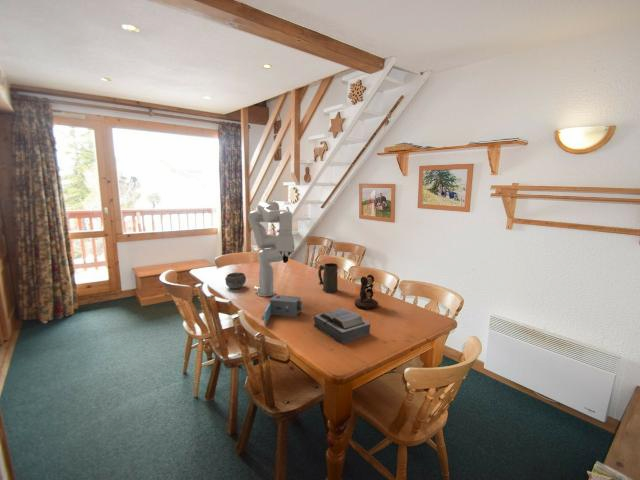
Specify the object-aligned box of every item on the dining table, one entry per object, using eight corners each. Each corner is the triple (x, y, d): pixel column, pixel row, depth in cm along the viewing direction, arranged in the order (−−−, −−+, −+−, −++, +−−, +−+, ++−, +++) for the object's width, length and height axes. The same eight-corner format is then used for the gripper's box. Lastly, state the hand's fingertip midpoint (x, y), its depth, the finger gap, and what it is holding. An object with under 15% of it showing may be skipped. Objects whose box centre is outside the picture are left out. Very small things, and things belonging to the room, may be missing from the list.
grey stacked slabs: (333, 347, 150) (333, 327, 148) (310, 324, 174) (311, 307, 172) (373, 338, 159) (375, 319, 158) (347, 317, 183) (348, 301, 182)
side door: (267, 314, 184) (267, 302, 183) (271, 314, 184) (271, 302, 183) (262, 324, 170) (261, 311, 169) (266, 324, 170) (266, 311, 169)
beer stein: (340, 289, 232) (339, 262, 229) (336, 293, 222) (335, 266, 219) (320, 288, 237) (319, 262, 234) (315, 292, 227) (314, 265, 224)
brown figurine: (363, 300, 212) (365, 271, 208) (382, 306, 202) (384, 276, 198) (349, 305, 202) (351, 275, 198) (368, 312, 191) (370, 280, 188)
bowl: (248, 285, 237) (248, 272, 236) (241, 291, 222) (241, 278, 220) (230, 284, 239) (230, 271, 237) (222, 290, 224) (222, 277, 222)
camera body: (269, 314, 184) (269, 299, 182) (274, 308, 193) (274, 293, 191) (299, 317, 181) (299, 301, 179) (303, 311, 190) (303, 296, 188)
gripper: (271, 232, 184) (271, 263, 187) (296, 233, 181) (295, 264, 185) (275, 230, 191) (275, 260, 194) (299, 232, 189) (299, 261, 192)
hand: (285, 262), depth 189 cm, fingers closed
